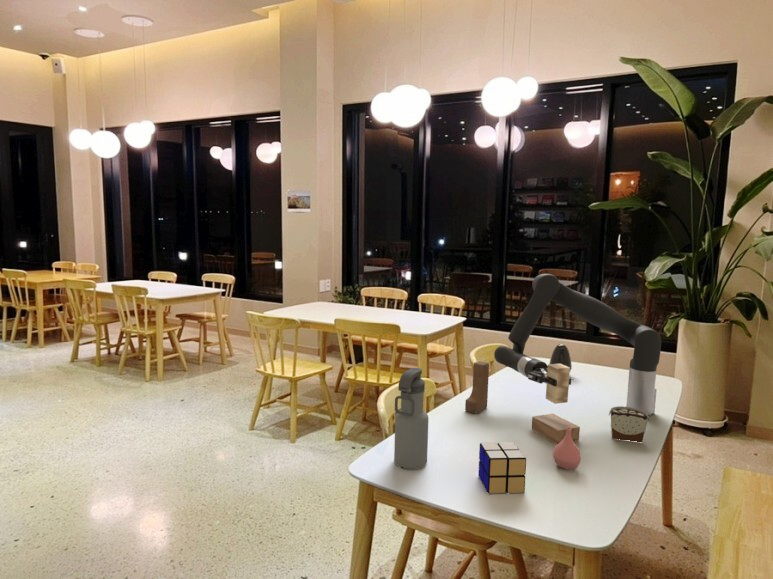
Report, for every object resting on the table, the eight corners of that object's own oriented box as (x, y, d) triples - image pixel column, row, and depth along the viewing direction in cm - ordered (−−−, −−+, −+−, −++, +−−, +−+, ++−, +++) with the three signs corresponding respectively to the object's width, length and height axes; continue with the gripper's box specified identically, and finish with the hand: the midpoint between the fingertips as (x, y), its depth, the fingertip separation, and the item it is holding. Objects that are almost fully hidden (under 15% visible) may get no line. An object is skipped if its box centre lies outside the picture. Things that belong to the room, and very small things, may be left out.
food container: (644, 437, 173) (647, 408, 172) (647, 444, 168) (650, 415, 166) (605, 431, 177) (607, 403, 176) (606, 438, 172) (609, 409, 170)
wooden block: (474, 414, 191) (476, 367, 189) (464, 411, 194) (466, 365, 192) (487, 408, 198) (489, 363, 196) (477, 405, 201) (479, 360, 199)
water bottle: (416, 474, 144) (419, 378, 141) (387, 465, 149) (389, 372, 146) (432, 460, 153) (435, 369, 149) (404, 452, 158) (406, 364, 154)
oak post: (557, 397, 176) (560, 363, 174) (567, 402, 171) (570, 367, 169) (545, 398, 174) (547, 364, 172) (554, 403, 169) (557, 368, 168)
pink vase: (558, 459, 156) (560, 421, 154) (583, 466, 151) (586, 427, 149) (548, 468, 150) (550, 428, 148) (574, 476, 145) (577, 436, 143)
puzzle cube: (477, 476, 144) (479, 442, 143) (512, 475, 145) (514, 441, 144) (487, 494, 134) (489, 458, 133) (524, 493, 135) (526, 457, 134)
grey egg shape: (550, 377, 241) (552, 346, 239) (547, 371, 251) (549, 341, 249) (572, 379, 239) (575, 347, 237) (568, 372, 249) (570, 342, 247)
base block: (551, 427, 181) (552, 413, 181) (578, 441, 170) (579, 426, 169) (531, 430, 178) (532, 416, 177) (557, 445, 166) (558, 430, 165)
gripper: (516, 359, 182) (545, 373, 166) (549, 357, 187) (581, 370, 171) (514, 380, 183) (544, 395, 167) (548, 377, 188) (580, 391, 172)
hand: (563, 382), depth 169 cm, fingers closed on oak post, 5 cm apart
